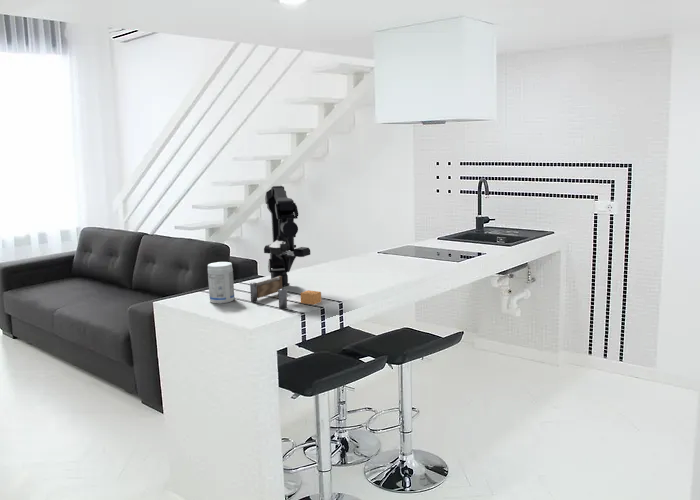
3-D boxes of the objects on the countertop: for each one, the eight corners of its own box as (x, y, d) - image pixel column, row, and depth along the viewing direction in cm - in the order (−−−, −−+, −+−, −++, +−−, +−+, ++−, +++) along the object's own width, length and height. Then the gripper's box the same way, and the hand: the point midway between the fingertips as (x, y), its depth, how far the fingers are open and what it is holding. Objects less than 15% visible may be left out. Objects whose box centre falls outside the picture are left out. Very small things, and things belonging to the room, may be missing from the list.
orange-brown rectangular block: (300, 303, 249) (300, 292, 249) (308, 300, 254) (308, 290, 253) (313, 305, 246) (313, 294, 246) (321, 302, 250) (320, 291, 250)
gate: (258, 299, 254) (257, 283, 253) (255, 299, 255) (255, 282, 253) (282, 291, 266) (281, 276, 265) (279, 291, 267) (279, 275, 266)
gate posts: (249, 301, 253) (248, 283, 251) (255, 300, 255) (254, 282, 254) (282, 309, 240) (282, 290, 239) (288, 307, 242) (288, 288, 241)
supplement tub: (225, 296, 262) (223, 260, 259) (239, 300, 255) (237, 263, 253) (204, 301, 255) (202, 264, 252) (219, 305, 248) (216, 267, 246)
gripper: (254, 233, 251) (255, 273, 254) (293, 237, 241) (294, 278, 244) (272, 229, 260) (273, 268, 263) (310, 233, 250) (311, 272, 253)
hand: (287, 272), depth 256 cm, fingers closed
